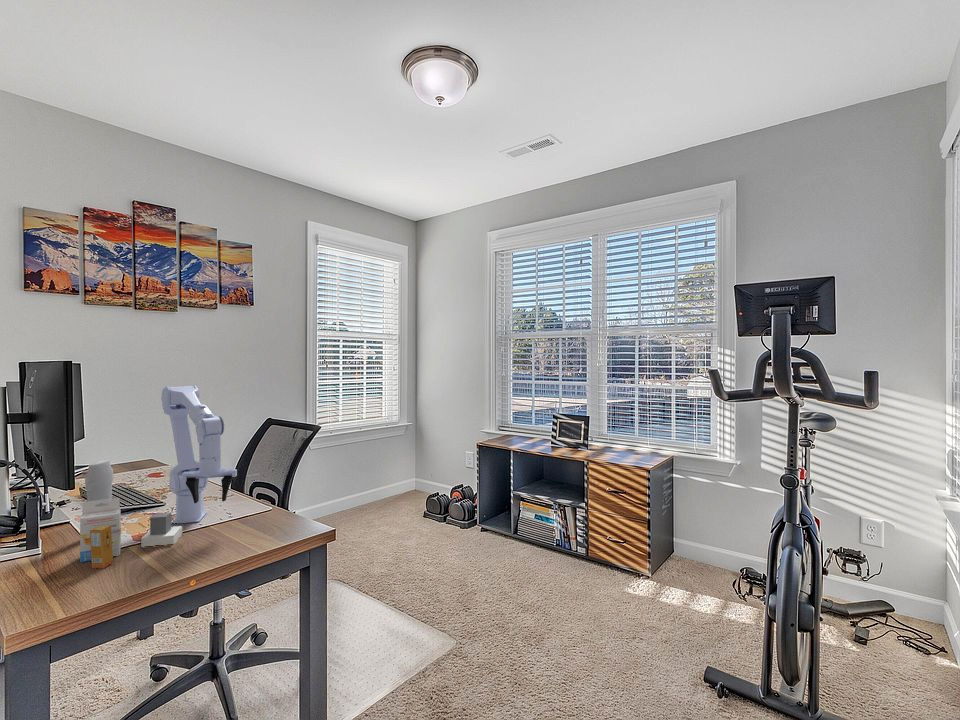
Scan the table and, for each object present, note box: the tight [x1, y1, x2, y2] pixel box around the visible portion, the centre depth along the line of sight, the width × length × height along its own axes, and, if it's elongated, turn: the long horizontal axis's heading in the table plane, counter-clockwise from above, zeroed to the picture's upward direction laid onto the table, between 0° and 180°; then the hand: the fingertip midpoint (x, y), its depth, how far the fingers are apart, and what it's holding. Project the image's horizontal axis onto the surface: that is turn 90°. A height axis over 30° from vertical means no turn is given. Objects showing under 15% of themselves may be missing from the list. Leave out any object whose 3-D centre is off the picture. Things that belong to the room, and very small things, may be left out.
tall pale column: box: [84, 459, 114, 507], centre depth 148 cm, size 11×4×22 cm, turn 1°
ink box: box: [79, 497, 122, 563], centre depth 132 cm, size 8×5×15 cm, turn 123°
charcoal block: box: [149, 512, 172, 535], centre depth 142 cm, size 4×4×5 cm
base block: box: [140, 525, 183, 548], centre depth 143 cm, size 8×8×3 cm
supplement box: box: [90, 526, 114, 569], centre depth 126 cm, size 3×3×10 cm
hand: (210, 501), depth 149 cm, fingers open, 7 cm apart
